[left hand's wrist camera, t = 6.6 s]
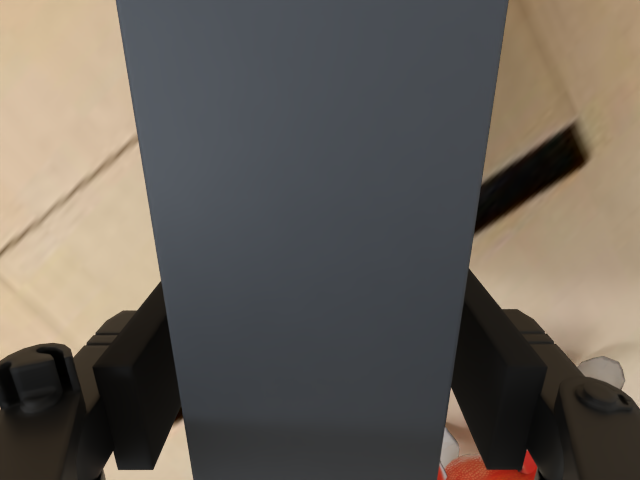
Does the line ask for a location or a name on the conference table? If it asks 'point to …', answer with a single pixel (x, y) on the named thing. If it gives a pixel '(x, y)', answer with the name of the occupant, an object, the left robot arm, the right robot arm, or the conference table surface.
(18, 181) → the conference table surface
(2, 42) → the conference table surface
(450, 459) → the fish
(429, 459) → the bar
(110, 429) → the left robot arm
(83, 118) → the conference table surface
